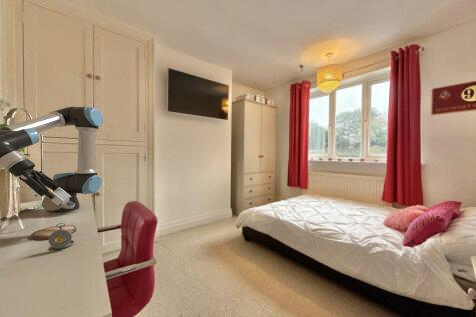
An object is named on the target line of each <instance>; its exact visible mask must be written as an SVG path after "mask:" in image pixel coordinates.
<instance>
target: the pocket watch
mask: <svg viewBox="0 0 476 317" xmlns="http://www.w3.org/2000/svg"><path fill="white" fill-rule="evenodd" d="M62 225H64V226H65V225H66V224H65V223H62V222H60V223H58V224H56V225H55V226H57V227H58V226H60V227H59V228H60V230H57V231H55V232H53V233H52V234H51V235H50V237H49V240H48V244H49V246H51V248H52V249H54V250H59V249H65V248H68V247H71V246H72V245H74V243H75V240H73V233H72V234H71V232H70V231H68V230H65V229H62V228H63V227H64V226H62ZM56 236H57V237H56ZM55 238H56V239H55Z"/></svg>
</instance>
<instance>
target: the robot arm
mask: <svg viewBox="0 0 476 317" xmlns="http://www.w3.org/2000/svg"><path fill="white" fill-rule="evenodd" d="M103 124H104V116H103V114H102V112H101V111H100V110H99V109H98V108H96V107H94V106H93V107H92V106H67V107H63V108H60V109H57V110H56V109H55V110H52V111H50V112H49V113H48V114H45V115H41V116H38V117H35V118H30V119H27V120H24V121H20V122H16V123H13V124H10V125H5V126H2V127H1V126H0V168H3V169H5V170H7V171H8V172H9V173H10V174H11V175H13V176H14V177H17V178H18V179H19V180H20V181H22V182H24V183H25V185H27V186H28V187H29V188H30V189H32V190H33V191H34V192H35V193H36V194H37V195H39V196H40V197H43V196H45V197H47V198H48V199H50V200H51V201H52V202H54V203H55V204H56V205H59V204H60V203H61V202H63V201H64V200H63V199H62V198H60V197H59V196H58V195H57V194H55V193H54V192H55V191H64V192H66V193H67V194H68V195H69V201H71V202H73V203H74V204H75V206H74V208H73V209H66V208H62V207H61V208H60V209H58V210H54V211H49V210H47V211H48V212H49V213H64V212H71V210H72V211H75V209H76V210H78V209H80V208H79V207H80V206H81V204H80V201H79V199H78V197H77V195H78V194H83V195H92V194H94V193H97V192H98V191H99V189H100V188H101V187H102V182H103V181H102V178H101V176H100V175H98V171H97V170H96V169H95V168H96V167H95V166H96V163H95V162H96V161H95V160H96V133H97V131H99V127H101V126H102V125H103ZM68 126H69V127H70V126H75V127H74V128H75V129H76V130H77V131H78V133H77V134H78V135H77V136H78V137H77V169H76V170H75V171H73V172H63V173H55V174H54V175H53V176H52V178H51V177H50V176H48V175H47V174H45V173H44V172H43V171H41V170H40V171H39V170H35V169H34V168H36V163H34V162H33V161H32V160H30V159H29V158H28V157H27V156H26V155H24V154H23V153H22V152H20V151H19V150H21V149H24V148H27V147H30V146H33V145H35V144H38V143H39V142H40V139H41V137H40V135H39V134H40V133H43V132H45V131H48V130H52V129H54V128H63V127H68ZM27 158H28V159H27ZM66 205H69V204H66ZM69 206H71V205H69ZM77 208H78V209H77Z"/></svg>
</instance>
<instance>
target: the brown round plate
mask: <svg viewBox="0 0 476 317" xmlns="http://www.w3.org/2000/svg"><path fill="white" fill-rule="evenodd" d="M61 225H62V226H64V224H61ZM61 225H57V226H58V227H57V226H56V225H55V226H54V225H53V226H50V227H45V228H42V229H41V228H40V229H38V230H36V231H34V232H32V233H31V234H30V239H31V240H33V241H49V237H50V235H51V234H52V233H53V232H55V231H57V230H60V228H59V227H60V226H61ZM77 228H78V227H77V226H75V225H73V224H72V225H71V224H70V225H68V224H67V225H66V224H65V226H64V227H63V228H62V229H65V230H68V231H70V232H71V234H72V235H73V234H74V233H75V232H76V231H77ZM56 237H57V236H56ZM55 239H57V238H55Z"/></svg>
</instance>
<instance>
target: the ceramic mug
mask: <svg viewBox="0 0 476 317" xmlns="http://www.w3.org/2000/svg"><path fill="white" fill-rule="evenodd" d="M54 193H55V194H57V195H58V196H59V197H60V198H62V199H63V200H64V201H63V202H61V203H60V204H59V205H56V204H55V203H54V202H52V201H51V200H50V199H48V198H47V197H46V196H45V197H44V198H43V199H42V202H41V207H42V208H43V209H44V210H46V211H48V210H49V211H54V210H58V209H60V208H61V207H62V208H66V209H73V208H74V206H75V204H74V203H73V202H71V201H69V195H68V194H67V193H66V192H64V191H55V192H54ZM66 204H69V205H71V206H69V205H66ZM49 211H48V212H49Z"/></svg>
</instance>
